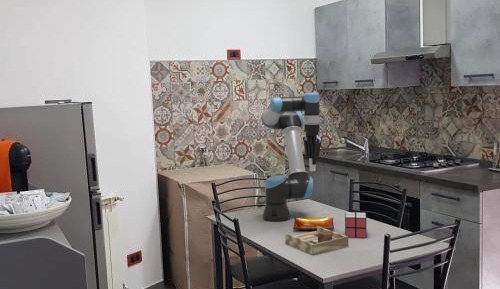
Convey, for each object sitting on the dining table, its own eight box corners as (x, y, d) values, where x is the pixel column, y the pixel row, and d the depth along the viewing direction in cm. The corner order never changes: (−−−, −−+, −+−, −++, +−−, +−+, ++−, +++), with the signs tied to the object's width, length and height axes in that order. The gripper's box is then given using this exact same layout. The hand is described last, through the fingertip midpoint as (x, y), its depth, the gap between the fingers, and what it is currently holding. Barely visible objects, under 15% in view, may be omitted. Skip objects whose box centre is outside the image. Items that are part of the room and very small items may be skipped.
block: (317, 242, 228) (317, 232, 227) (325, 240, 230) (325, 231, 230) (324, 244, 224) (324, 235, 224) (332, 243, 226) (332, 233, 226)
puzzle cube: (366, 238, 240) (366, 217, 239) (345, 237, 242) (345, 217, 241) (366, 232, 250) (366, 212, 249) (345, 231, 252) (345, 212, 251)
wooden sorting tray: (285, 243, 236) (285, 233, 236) (318, 235, 247) (318, 226, 246) (313, 255, 218) (313, 245, 218) (348, 246, 229) (348, 236, 228)
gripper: (297, 123, 254) (298, 170, 256) (314, 125, 243) (315, 173, 245) (309, 122, 258) (310, 168, 260) (326, 124, 246) (326, 171, 249)
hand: (312, 170), depth 253 cm, fingers closed
